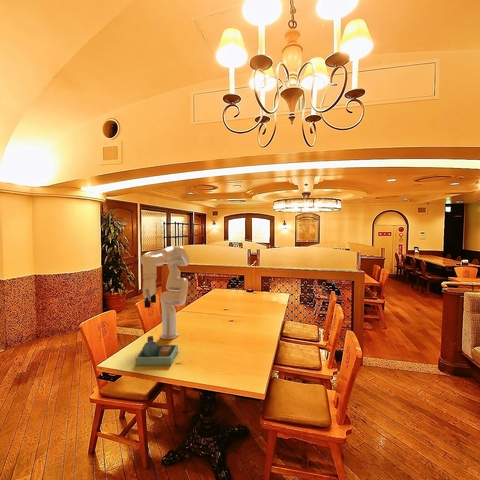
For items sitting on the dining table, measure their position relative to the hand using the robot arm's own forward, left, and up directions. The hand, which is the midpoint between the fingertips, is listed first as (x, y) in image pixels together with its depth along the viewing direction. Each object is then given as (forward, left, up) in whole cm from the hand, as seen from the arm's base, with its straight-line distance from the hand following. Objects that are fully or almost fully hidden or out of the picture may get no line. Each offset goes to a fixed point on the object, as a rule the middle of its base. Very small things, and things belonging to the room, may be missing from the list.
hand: (150, 305), depth 150 cm
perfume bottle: (+4, +1, -30) cm, 30 cm away
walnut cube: (+4, +10, -30) cm, 31 cm away
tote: (+4, +5, -30) cm, 31 cm away
